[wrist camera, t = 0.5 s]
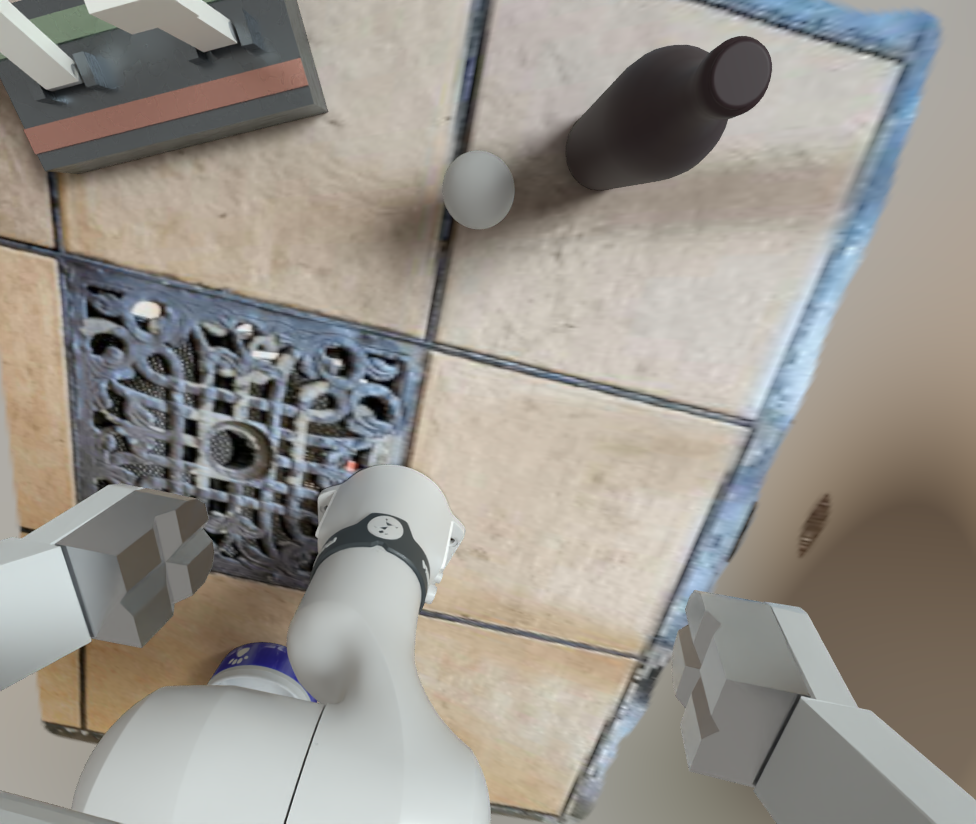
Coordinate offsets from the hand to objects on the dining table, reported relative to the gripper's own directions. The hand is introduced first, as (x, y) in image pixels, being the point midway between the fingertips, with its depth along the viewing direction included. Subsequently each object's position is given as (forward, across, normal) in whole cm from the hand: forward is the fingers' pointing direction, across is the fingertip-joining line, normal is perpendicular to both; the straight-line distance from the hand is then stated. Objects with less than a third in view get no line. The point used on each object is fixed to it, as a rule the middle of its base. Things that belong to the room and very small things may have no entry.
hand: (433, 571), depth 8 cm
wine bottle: (+50, +3, +10) cm, 51 cm away
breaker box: (+44, -37, +12) cm, 59 cm away
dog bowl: (+41, -34, -64) cm, 83 cm away
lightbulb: (+48, -8, +5) cm, 49 cm away
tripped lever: (+40, -30, +15) cm, 52 cm away
